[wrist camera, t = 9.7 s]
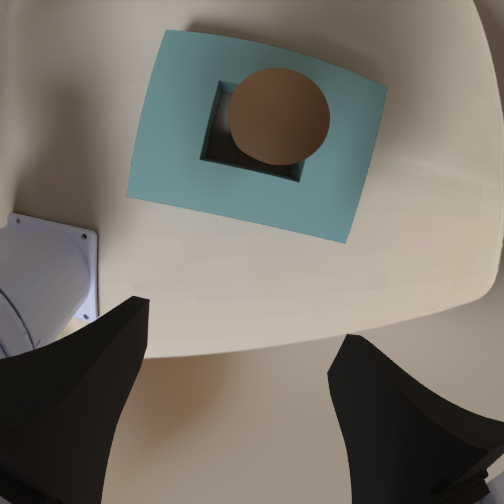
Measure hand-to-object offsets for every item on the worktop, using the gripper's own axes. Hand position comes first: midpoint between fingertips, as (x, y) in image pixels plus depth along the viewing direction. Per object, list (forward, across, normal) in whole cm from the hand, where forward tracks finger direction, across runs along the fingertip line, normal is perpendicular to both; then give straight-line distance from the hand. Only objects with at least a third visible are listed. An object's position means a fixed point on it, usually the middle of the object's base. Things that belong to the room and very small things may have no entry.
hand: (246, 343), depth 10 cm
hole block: (+10, +1, -7) cm, 13 cm away
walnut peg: (+10, +1, -7) cm, 13 cm away
